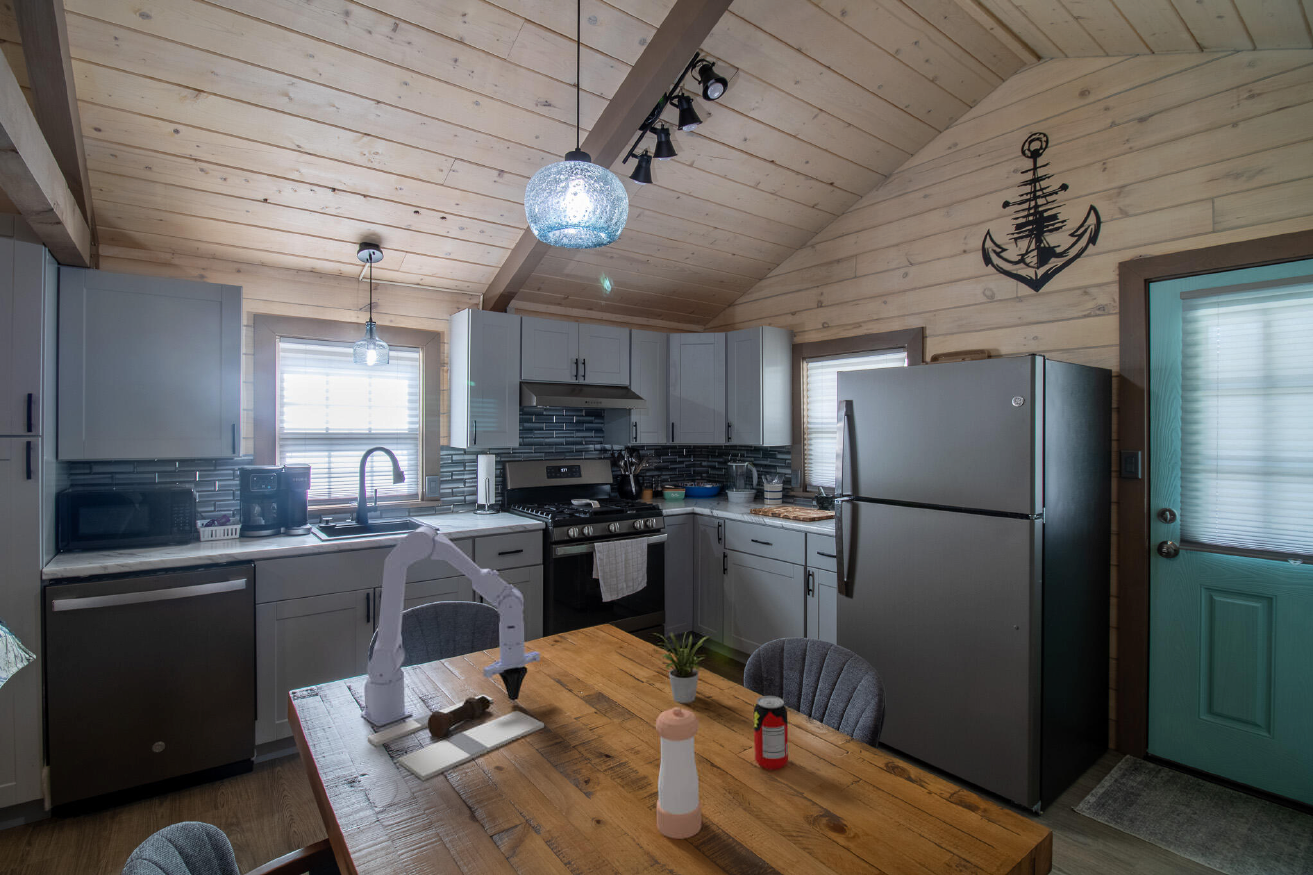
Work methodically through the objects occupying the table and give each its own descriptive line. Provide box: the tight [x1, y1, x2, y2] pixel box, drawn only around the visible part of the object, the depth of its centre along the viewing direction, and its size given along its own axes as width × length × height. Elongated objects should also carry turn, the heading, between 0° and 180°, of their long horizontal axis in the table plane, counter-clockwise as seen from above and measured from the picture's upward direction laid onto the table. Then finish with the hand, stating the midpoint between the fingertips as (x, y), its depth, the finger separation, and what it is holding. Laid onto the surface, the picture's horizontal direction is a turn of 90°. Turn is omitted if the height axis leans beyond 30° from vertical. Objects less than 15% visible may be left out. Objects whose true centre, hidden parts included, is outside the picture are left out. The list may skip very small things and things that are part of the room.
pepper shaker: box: [655, 706, 702, 840], centre depth 104 cm, size 7×7×19 cm
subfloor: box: [367, 694, 545, 781], centre depth 138 cm, size 24×28×1 cm
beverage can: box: [753, 695, 789, 771], centre depth 123 cm, size 6×6×12 cm
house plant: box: [652, 630, 710, 704], centre depth 153 cm, size 14×14×16 cm
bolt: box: [427, 696, 491, 739], centre depth 143 cm, size 6×5×15 cm
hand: (513, 698), depth 152 cm, fingers closed
